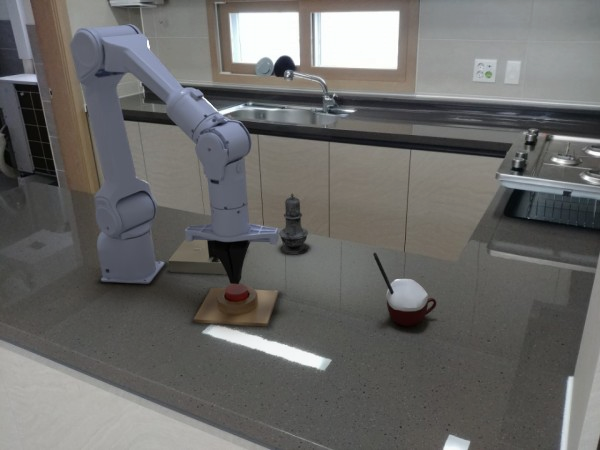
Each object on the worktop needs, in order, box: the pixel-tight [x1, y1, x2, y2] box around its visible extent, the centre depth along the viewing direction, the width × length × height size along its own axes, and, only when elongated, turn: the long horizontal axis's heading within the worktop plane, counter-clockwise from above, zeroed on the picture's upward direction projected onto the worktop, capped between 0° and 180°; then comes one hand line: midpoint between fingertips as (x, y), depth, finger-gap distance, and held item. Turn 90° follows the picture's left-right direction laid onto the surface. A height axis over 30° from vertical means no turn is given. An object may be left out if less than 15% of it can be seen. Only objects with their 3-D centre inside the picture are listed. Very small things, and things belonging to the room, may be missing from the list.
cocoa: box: [372, 252, 437, 327], centre depth 82 cm, size 10×6×12 cm, turn 71°
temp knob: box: [207, 240, 216, 256], centre depth 103 cm, size 5×2×4 cm, turn 172°
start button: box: [225, 283, 248, 302], centre depth 88 cm, size 4×4×2 cm
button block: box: [193, 285, 280, 328], centre depth 89 cm, size 12×10×2 cm
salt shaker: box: [278, 193, 309, 255], centre depth 107 cm, size 6×6×12 cm
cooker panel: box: [168, 238, 228, 276], centre depth 105 cm, size 13×10×3 cm
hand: (235, 280), depth 87 cm, fingers closed
